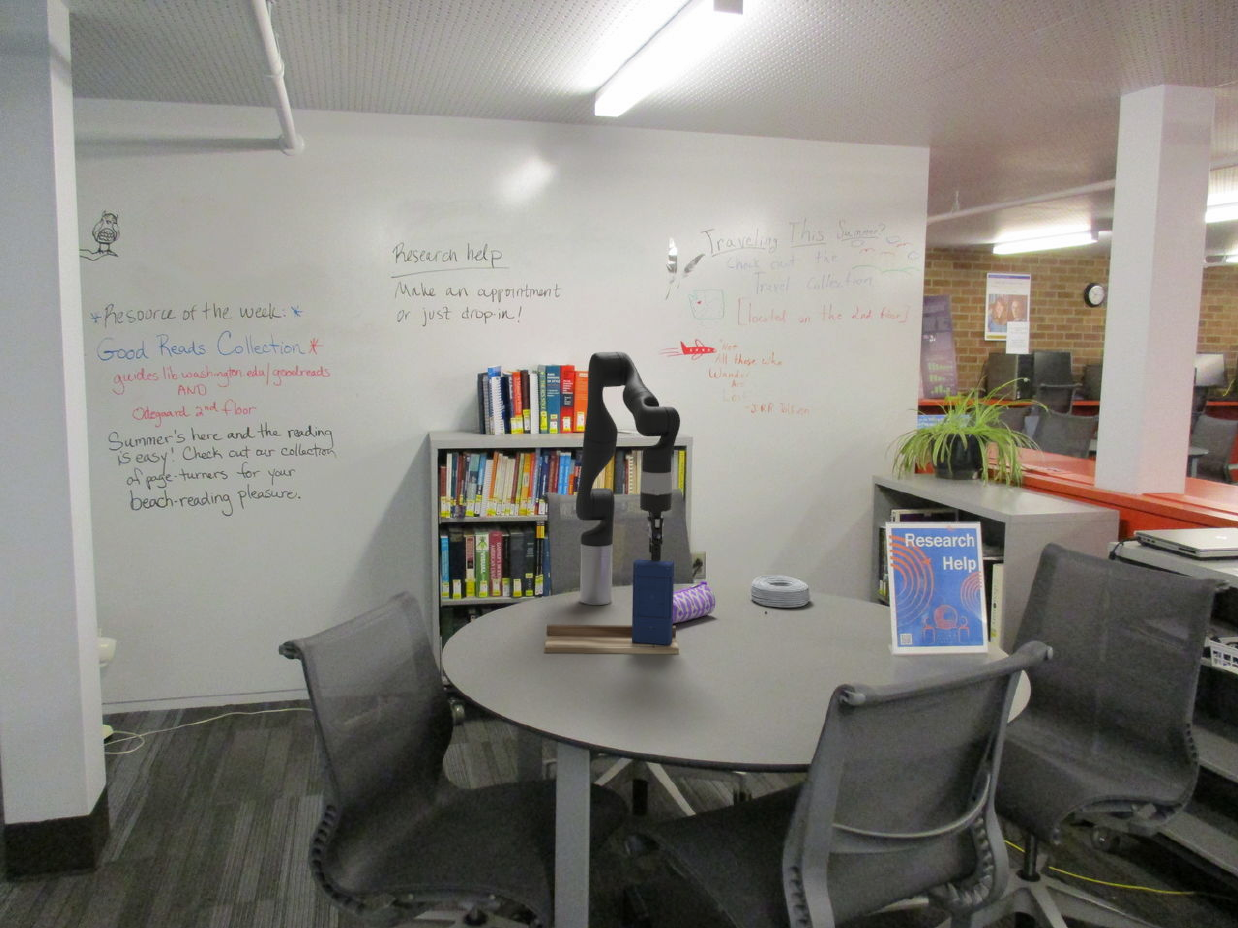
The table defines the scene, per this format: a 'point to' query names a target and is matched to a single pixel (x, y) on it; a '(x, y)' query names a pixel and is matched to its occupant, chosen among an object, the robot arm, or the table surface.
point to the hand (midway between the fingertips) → (654, 556)
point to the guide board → (601, 640)
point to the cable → (779, 591)
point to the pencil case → (693, 602)
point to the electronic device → (652, 602)
